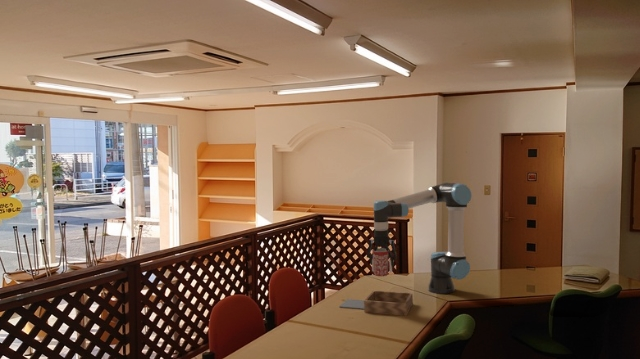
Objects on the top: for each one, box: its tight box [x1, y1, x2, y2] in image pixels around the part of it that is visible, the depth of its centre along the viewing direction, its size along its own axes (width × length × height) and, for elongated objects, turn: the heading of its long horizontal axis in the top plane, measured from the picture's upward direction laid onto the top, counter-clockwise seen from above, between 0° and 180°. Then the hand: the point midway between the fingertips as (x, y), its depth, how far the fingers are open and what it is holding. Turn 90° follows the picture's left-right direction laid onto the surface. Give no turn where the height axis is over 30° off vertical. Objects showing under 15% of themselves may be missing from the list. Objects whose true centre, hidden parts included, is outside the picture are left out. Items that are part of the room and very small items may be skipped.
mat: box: [339, 298, 365, 310], centre depth 263 cm, size 14×14×1 cm
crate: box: [363, 290, 414, 317], centre depth 256 cm, size 22×20×6 cm
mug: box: [371, 247, 394, 277], centre depth 255 cm, size 13×9×14 cm
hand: (382, 271), depth 256 cm, fingers closed on mug, 9 cm apart
